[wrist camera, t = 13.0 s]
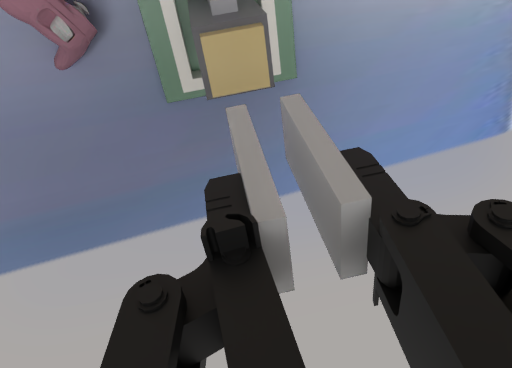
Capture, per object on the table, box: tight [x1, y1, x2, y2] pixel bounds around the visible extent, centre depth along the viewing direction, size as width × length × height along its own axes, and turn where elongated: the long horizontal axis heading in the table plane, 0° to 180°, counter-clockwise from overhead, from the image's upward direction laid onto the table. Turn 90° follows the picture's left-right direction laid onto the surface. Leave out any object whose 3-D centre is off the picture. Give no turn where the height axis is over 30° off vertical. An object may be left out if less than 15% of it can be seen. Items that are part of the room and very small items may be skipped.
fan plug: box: [188, 0, 275, 100], centre depth 26 cm, size 4×5×11 cm
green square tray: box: [137, 0, 297, 103], centre depth 30 cm, size 12×12×3 cm
